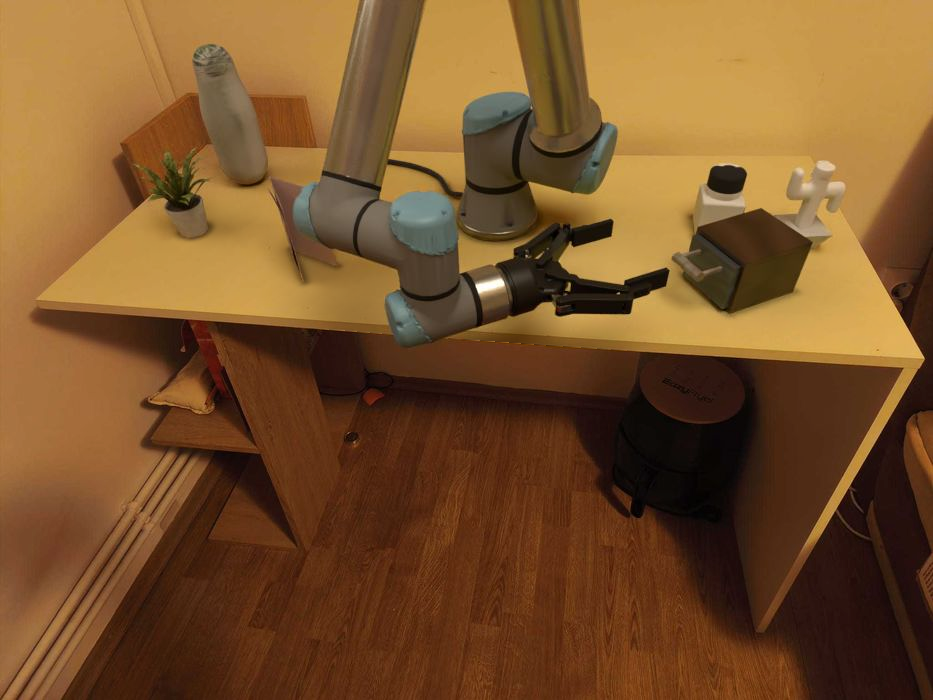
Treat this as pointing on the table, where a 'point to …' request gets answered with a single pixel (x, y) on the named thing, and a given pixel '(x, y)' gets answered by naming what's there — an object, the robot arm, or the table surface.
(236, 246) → the table surface
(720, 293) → the grey pull-out drawer
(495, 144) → the robot arm
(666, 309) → the table surface
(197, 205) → the house plant
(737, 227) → the cabinet
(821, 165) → the figurine
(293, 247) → the greeting card
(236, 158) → the grey bottle
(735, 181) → the medicine bottle
